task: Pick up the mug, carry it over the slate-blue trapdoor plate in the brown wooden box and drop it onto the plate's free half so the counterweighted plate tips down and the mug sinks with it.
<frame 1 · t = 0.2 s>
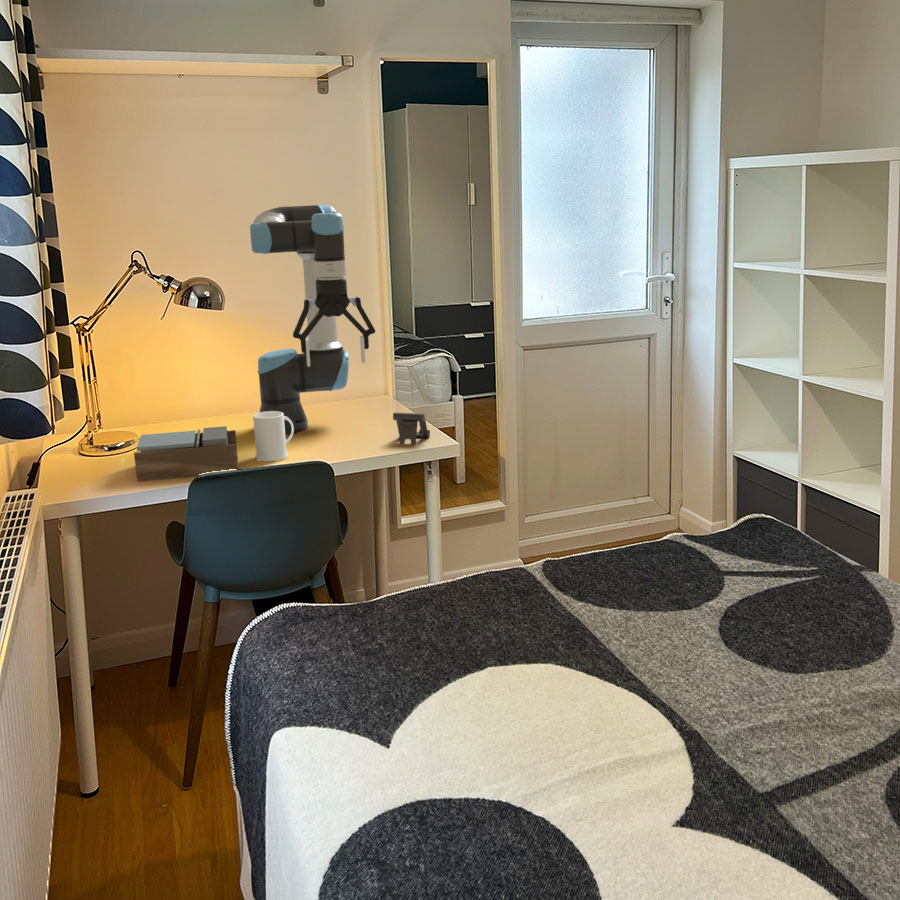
hand: (336, 364, 246), 27 cm above the table, fingers open, 13 cm apart
mug: (277, 457, 267), on the table
portable electronic device stand: (412, 441, 280), on the table
trapdoor: (184, 446, 257), point 6 cm above the table, hinge at 0.0°
brown wooden box: (201, 467, 259), on the table
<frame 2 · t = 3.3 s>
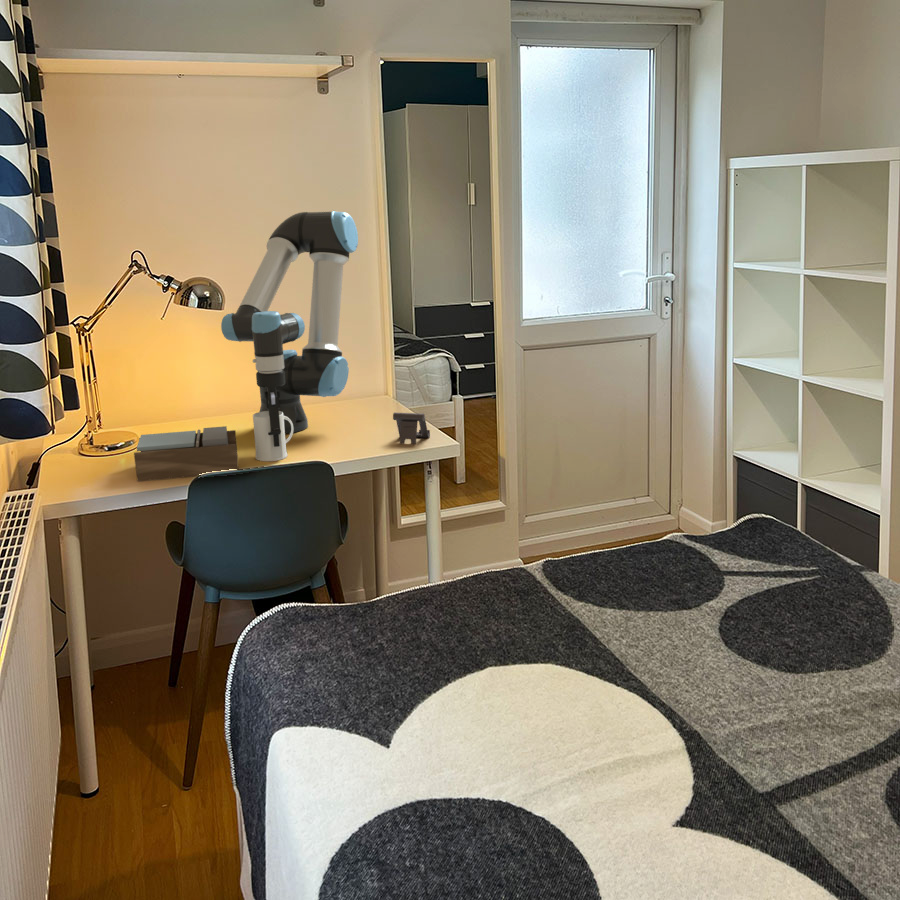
hand: (276, 453, 267), 1 cm above the table, fingers closed on mug, 8 cm apart
mug: (277, 456, 268), on the table, touching gripper
everything else where it was.
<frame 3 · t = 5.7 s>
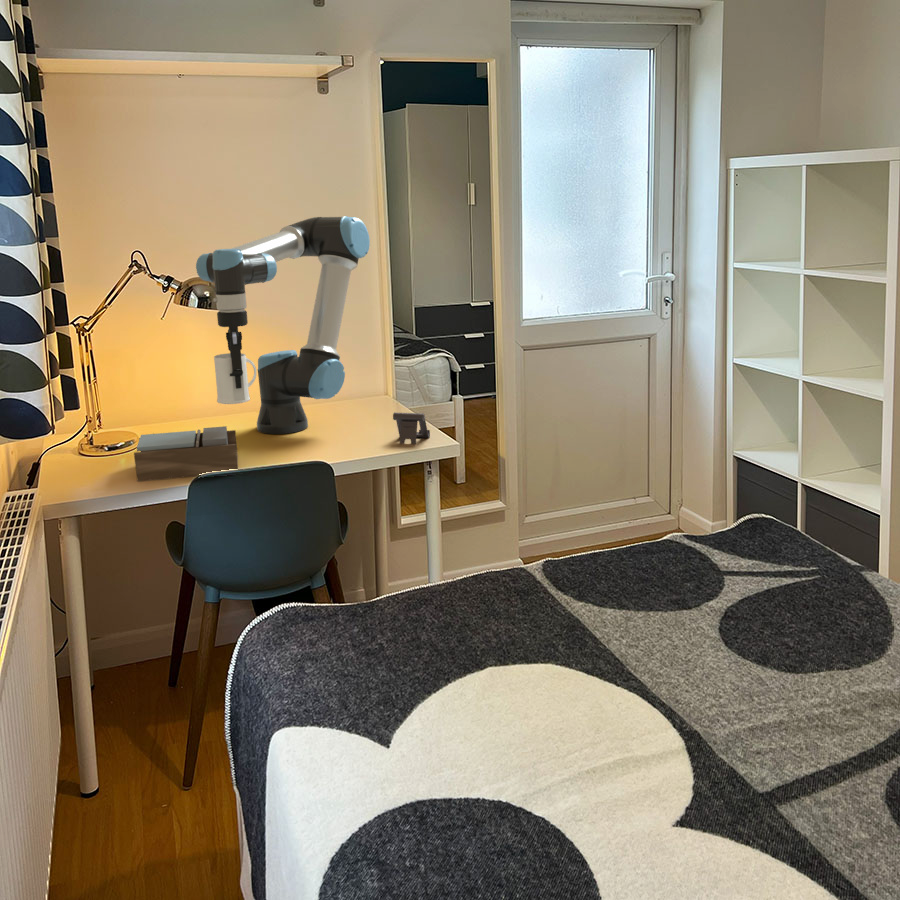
hand: (239, 396, 259), 18 cm above the table, fingers closed on mug, 8 cm apart
mug: (239, 400, 260), point 16 cm above the table, touching gripper
everything else where it was.
when the fingers open (12 cm above the table, at t = 7.9 s): mug drops 8 cm, resting on trapdoor.
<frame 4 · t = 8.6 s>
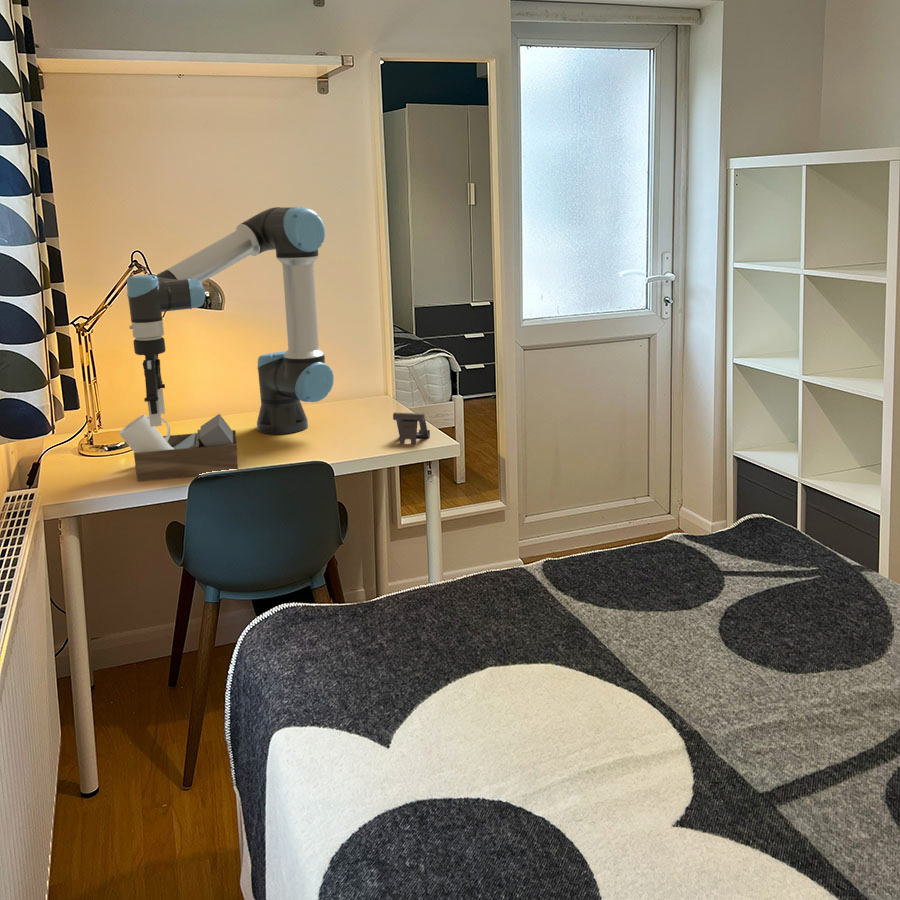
hand: (158, 419, 254), 14 cm above the table, fingers open, 13 cm apart
mug: (166, 456, 257), point 4 cm above the table, touching trapdoor
trapdoor: (190, 452, 258), point 4 cm above the table, hinge at -30.8°, touching mug
everything else where it was.
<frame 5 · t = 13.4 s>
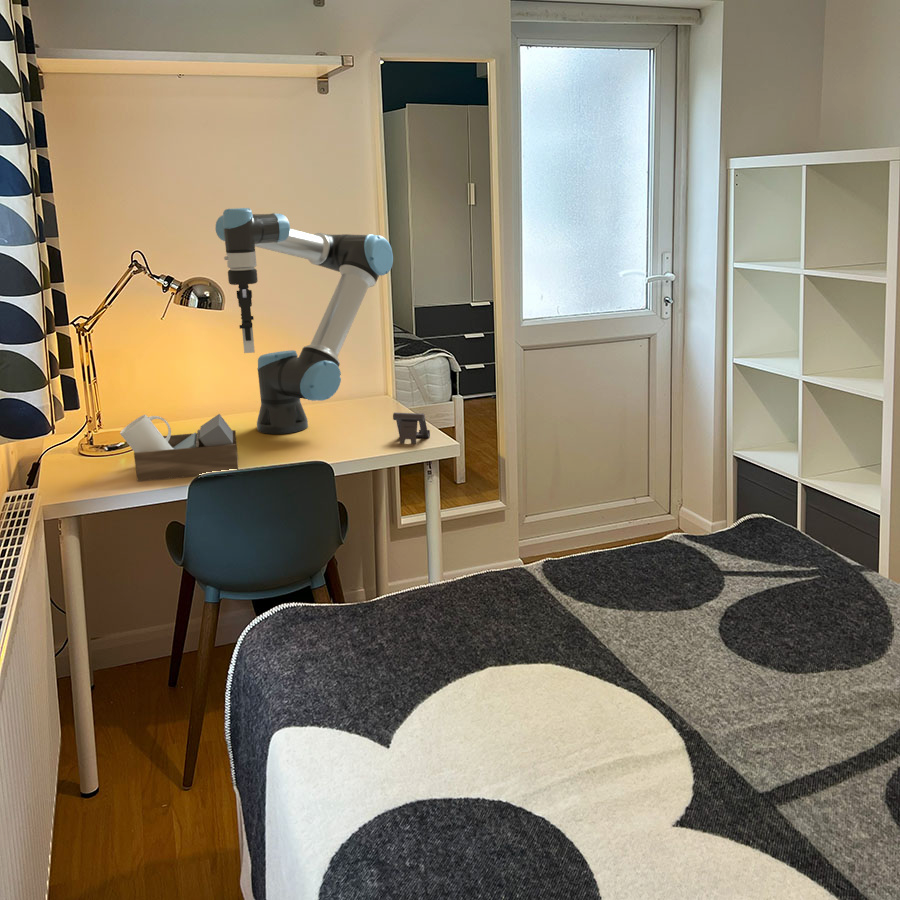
hand: (249, 348, 265), 29 cm above the table, fingers open, 13 cm apart
nothing on the table moved.
at the end: mug point 3.4 cm above the table; mug moved 28.8 cm from its start; the gripper is holding nothing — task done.
